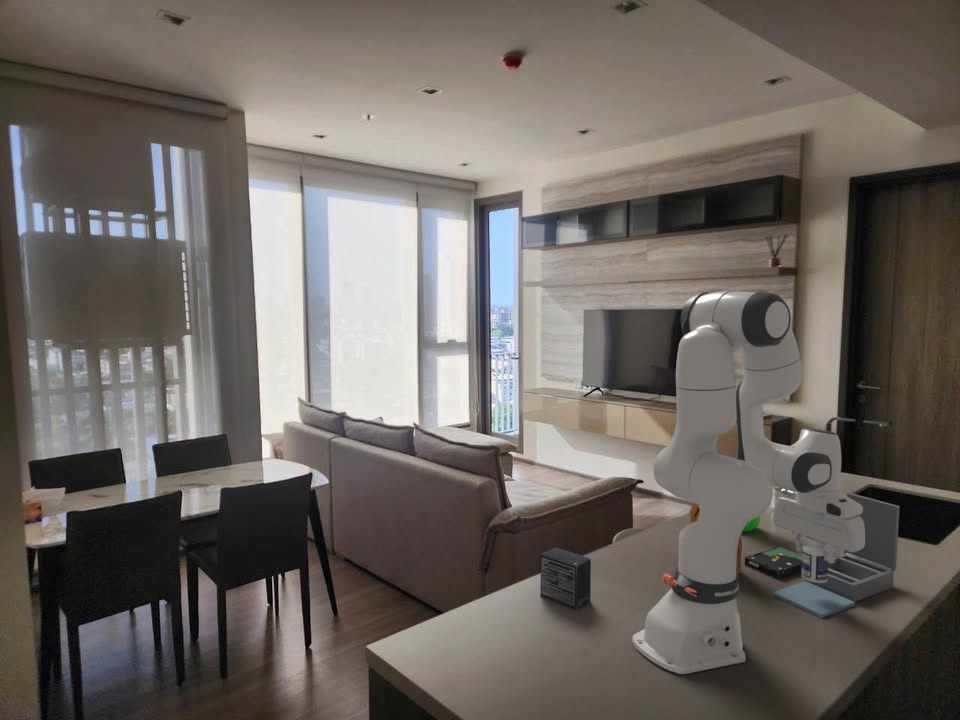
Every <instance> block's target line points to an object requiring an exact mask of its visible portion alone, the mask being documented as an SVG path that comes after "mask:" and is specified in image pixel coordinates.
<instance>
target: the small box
mask: <svg viewBox="0 0 960 720" xmlns="http://www.w3.org/2000/svg"><path fill="white" fill-rule="evenodd" d="M539 556H540V597H541V598H543V599H547V600H549V601H552V602H554V601H555V602H554V603H557V602H558V603H557V604H559V603H560V604H559V605H562V606H564V605H565V607H567V606H568V607H567V608H569V607H570V609H572V608H573V609H572V610H574V609H575V610H574V611H577V610H580V608H582V607H583V606H585V605H586V604H588V603H590V602H591V585H592V583H591V575H592V571H591V569H592V567H591V566H592V558H591V557H587V556H584V555H582V554H579V553H574V552H571V551H568V550H565V549H562V548H559V547H553V548H552V547H551V549H548V550H546V551H544V552H542V553H540V555H539Z"/></svg>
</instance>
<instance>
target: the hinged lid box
mask: <svg viewBox="0 0 960 720" xmlns="http://www.w3.org/2000/svg"><path fill="white" fill-rule="evenodd" d="M846 496H847V497H849V498H850V499H852V500H854V501H855V502H857V503H859V504H860V505H861V506H862V507H863V512H862V514H860V515H859V516H860V517H861V518H862V520H863V522H864V526H865V546H864V548H863V549H861V550H860V551H857V552H849V551H846V550H844V553H842V554H839V555H835V562H834V563H832V564H830V563H828V580H827V582H825V583H815V582H810V581H807V580H805V579H804V578H803V579H804V581H803V582H805V581H806V582H809V583H811V584H813V585H816V586H818V587H821V588H823V589H825V590H828V591H830V592H832V593H835V594H837V595H839V596H842V597H844V598H847V599H849V600H851V601H854V602H855V603H856V602H858V601H861V600H863V599H865V598H868V597H871V596H874V595H876V594H879V593H882V592H884V591H887V590H889V589H893V588H894V574H895V573H894V572H896V571H897V561H898V559H897V557H898V541H899V538H898V537H899V524H900V523H899V522H900V521H899V519H900V505H896V504H892V503H888V502H886V501H885V502H884V501H881V500H877V499H874V498H870V497H866V496H862V495H859V494H856V493H851V492H847V493H846Z"/></svg>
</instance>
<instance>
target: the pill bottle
mask: <svg viewBox="0 0 960 720" xmlns="http://www.w3.org/2000/svg"><path fill="white" fill-rule="evenodd" d="M804 544H805V545H803V547H802V552H801V555H802V572H801V577H802V579H805V580H807V581H810V582H815V583H825V582H827V580H828V562H825V561H824V554H827V553H830V551H829V548H827V547H826V543H824V542H821V541H818V540H815V539H812V538H809V537H807V536H805V543H804Z"/></svg>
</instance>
